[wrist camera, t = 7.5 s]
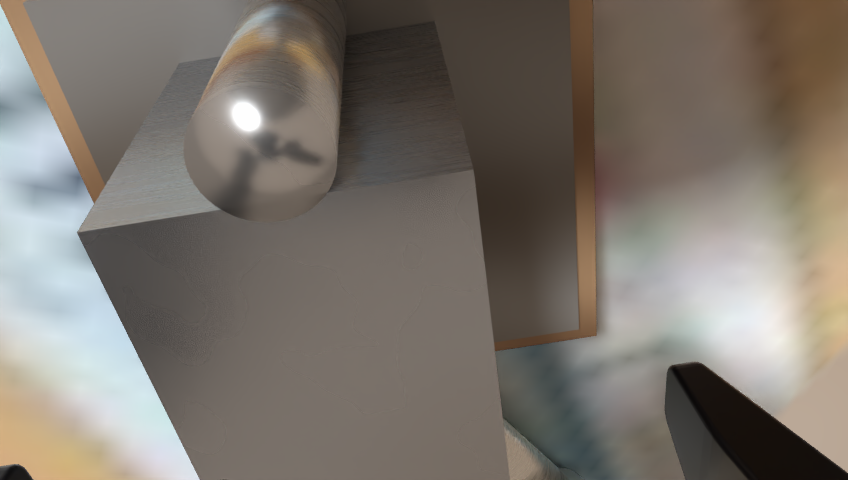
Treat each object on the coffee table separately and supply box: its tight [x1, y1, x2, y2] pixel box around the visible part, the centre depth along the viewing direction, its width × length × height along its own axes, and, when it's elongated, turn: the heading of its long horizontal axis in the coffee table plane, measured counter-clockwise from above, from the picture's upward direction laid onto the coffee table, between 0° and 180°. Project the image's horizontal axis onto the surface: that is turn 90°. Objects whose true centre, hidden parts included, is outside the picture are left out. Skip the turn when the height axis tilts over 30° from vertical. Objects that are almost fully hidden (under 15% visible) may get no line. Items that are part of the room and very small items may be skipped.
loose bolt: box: [503, 418, 584, 480], centre depth 24 cm, size 6×3×3 cm, turn 38°
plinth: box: [0, 0, 597, 351], centre depth 17 cm, size 11×11×3 cm
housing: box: [77, 0, 510, 480], centre depth 13 cm, size 10×5×6 cm, turn 8°
